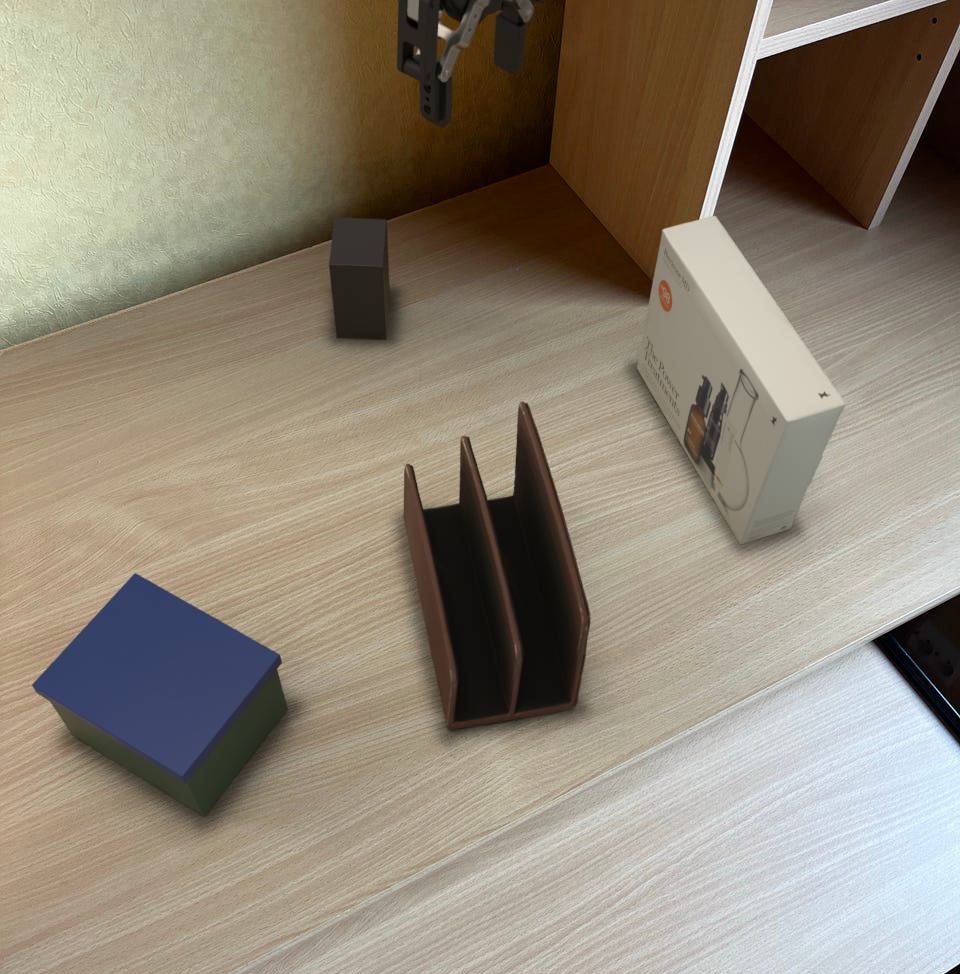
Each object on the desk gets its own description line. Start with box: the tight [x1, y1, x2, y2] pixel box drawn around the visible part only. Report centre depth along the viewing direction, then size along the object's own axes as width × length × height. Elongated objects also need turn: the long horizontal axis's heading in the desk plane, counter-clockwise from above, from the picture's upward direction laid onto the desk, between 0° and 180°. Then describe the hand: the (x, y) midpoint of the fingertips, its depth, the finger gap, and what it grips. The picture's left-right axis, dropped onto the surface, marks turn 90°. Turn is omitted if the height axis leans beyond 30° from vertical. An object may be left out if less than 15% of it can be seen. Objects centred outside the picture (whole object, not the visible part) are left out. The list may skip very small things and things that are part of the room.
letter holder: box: [402, 401, 591, 731], centre depth 80 cm, size 10×20×14 cm, turn 12°
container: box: [31, 572, 288, 817], centre depth 77 cm, size 13×11×8 cm
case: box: [328, 217, 391, 341], centre depth 98 cm, size 5×6×8 cm
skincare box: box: [636, 215, 846, 545], centre depth 89 cm, size 21×6×16 cm, turn 21°
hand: (472, 94), depth 81 cm, fingers open, 8 cm apart
